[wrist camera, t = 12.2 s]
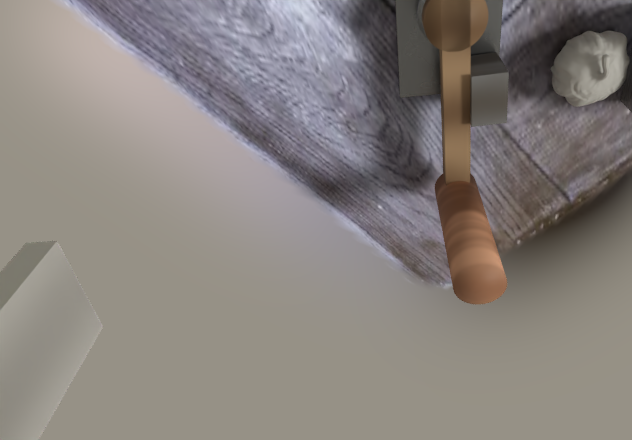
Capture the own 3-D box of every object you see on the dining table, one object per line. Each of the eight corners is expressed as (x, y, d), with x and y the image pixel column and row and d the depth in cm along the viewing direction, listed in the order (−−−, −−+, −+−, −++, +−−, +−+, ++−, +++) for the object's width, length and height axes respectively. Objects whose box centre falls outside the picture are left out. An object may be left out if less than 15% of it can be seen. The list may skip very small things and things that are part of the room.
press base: (392, -61, 38) (393, -56, 35) (505, -77, 37) (514, -73, 34) (399, 94, 45) (401, 107, 42) (495, 84, 43) (502, 97, 41)
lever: (418, -20, 38) (439, 39, 26) (498, -33, 37) (560, 22, 25) (429, 193, 49) (448, 305, 37) (492, 188, 48) (532, 301, 36)
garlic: (571, 10, 40) (594, 29, 35) (633, 33, 40) (663, 54, 36) (529, 81, 43) (546, 106, 39) (586, 102, 44) (610, 128, 39)
